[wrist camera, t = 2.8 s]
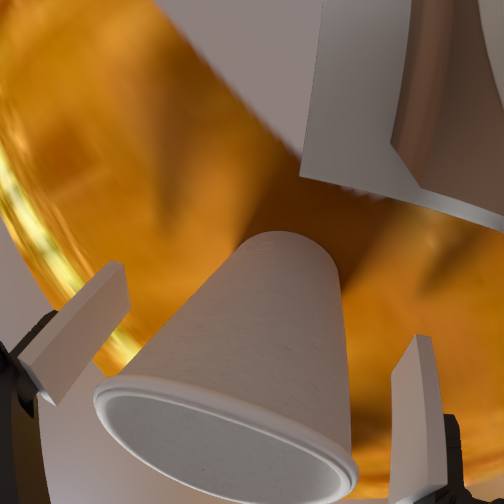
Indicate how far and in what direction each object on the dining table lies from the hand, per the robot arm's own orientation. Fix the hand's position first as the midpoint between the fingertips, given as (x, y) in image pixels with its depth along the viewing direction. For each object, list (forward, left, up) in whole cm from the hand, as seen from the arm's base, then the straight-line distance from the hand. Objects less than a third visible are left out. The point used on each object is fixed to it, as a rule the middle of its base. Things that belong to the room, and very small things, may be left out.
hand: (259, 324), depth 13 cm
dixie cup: (0, 0, -4) cm, 4 cm away
